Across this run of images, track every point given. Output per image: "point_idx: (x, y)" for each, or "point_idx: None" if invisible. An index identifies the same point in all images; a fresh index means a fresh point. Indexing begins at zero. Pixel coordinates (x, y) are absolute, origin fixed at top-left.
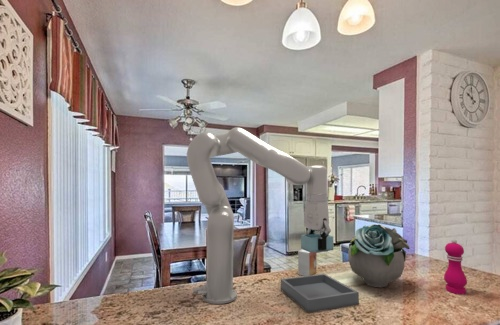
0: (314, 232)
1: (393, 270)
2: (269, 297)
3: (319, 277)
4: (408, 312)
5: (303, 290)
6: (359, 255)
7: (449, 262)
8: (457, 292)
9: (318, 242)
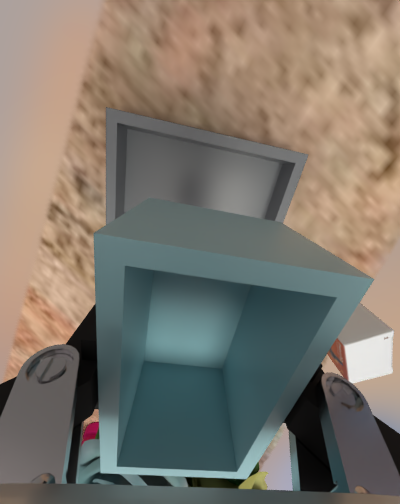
0: (292, 448)
1: None
2: (269, 73)
3: None
4: (54, 320)
5: (231, 204)
6: None
7: None
8: (89, 426)
9: None
